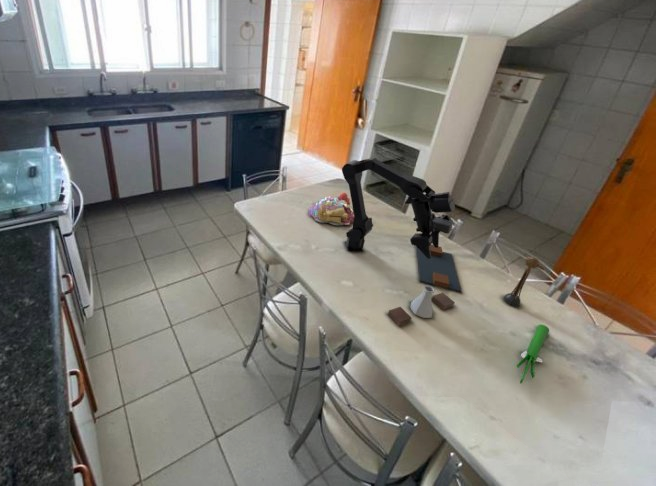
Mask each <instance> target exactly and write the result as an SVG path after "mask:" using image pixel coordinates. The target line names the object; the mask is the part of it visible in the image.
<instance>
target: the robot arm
mask: <svg viewBox="0 0 656 486" xmlns="http://www.w3.org/2000/svg"><path fill="white" fill-rule="evenodd" d="M365 171H371V172H373V173H375V174H376V175H378V176H380V177H382V178H384V179H385V180H387V181H389V182H390V183H391V182H392V183H393V184H395V185H396V186H397V187H398V188H399V189H400V190H401V192H403V193H404V194H405V195H406V196H408V197H407V199H406V201H405V202H404V204H405V205H410V204H411V208H412V211H413V216H414V217H413V219H412V220H413V222H416V228H415V231H416V232H417V233H416V232H415V233H414V234H413V235H412V236H411V238H410V244H411V246H414V247H417V248H418V249H419V250H420V251H421V252H422V253H423V254H424V255H425V256H426V257H427V258H428V259H430V258H431V252H430V245H434V247H435V248H438V246H440V245H439V243H440V241H439V240H440V233H444V234H446V235H447V234H450V233H451V231H452V228H453V225H454V219H452V218H451V215H449V214H445V215H443V217H442V216H440V217H437V216H436V214H439V213H454V212H455V209H456V204H455V202H456V201H455V199H454V198H453V196H452V195H451V193H450V191H445V192H440V193H439V192H438V193H436V191H435V190H434V189H432V188H431V187H430V186H429V185H427V181H426V180H425V179H423V178H420V177H417V176H414V175H409V174H405V173H402V172H401V171H400V170H398V169H395V168H394V167H392V166H390V165H388V164H386V163H384V162H383V161H381V160H378V158H377V157H369V158H367V159H366V158H365V159H361V160H357V159H354V160H351V161H349V162H347V163H345V164H344V165H342V167H341V172H342V173H341V174H342V176H343V179H344V180H345V182H346V183H347V185H348V188H349V189H348V190H349V193H350V200H351V207H352V210H353V214H354V220H353V223H352V227H351V228H350V229H349V230H348V231H347V232H345V235H346V241H344V245H345V247H346V249H347V252H360V253H361V252H364V249H363V248H364V246H365V241H366V239H365V237H366V236H367V235H368V234H369V233H370V232H371V231H372V230H373V227H374V223H373V218H372V217H369V216H368V215H367V213H366V212H367V211H366V207H365V206H366V205H365V201H364V194H363V189H362V177H363V172H365ZM418 232H419V233H418ZM417 248H416V249H417Z"/></svg>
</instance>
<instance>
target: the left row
mask: <svg viewBox="0 0 656 486" xmlns="http://www.w3.org/2000/svg"><path fill="white" fill-rule="evenodd" d="M431 302H433V303H434V304H435V305H436V306H437V307H439V308H440V309H441V310H443V311H444V310H447V309H450V308H452V307H454V305H455V301H454V300H453V299H451V298H450V297H449V296H448V295H447V294H445V293H444V292H440V293H437V294H434V295H432V296H431ZM387 316H388V317H389V318H390V319H391V320H392V321H393V322H394V323H395V324H396V325H397V326H398V327H400V326H403V325H406V324H409V323H411V321H412V318H413V317H412V316H411V315H410V314H409V313H408V312H407V311H406V310H405V309H404V308H403V307H402V306H398V307H395V308H392V309H389V310H388V313H387Z"/></svg>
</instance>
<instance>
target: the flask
mask: <svg viewBox="0 0 656 486" xmlns="http://www.w3.org/2000/svg"><path fill="white" fill-rule="evenodd" d="M434 293H435V288H434V286H432V285H430V284H426V285H424V286H423V291H422V292H421V293H420V295H418V296H417V297H416V298H415V299H414V300H413V301H411V302H410V309H411V311H412V313H413V314H414V315H415V316H418V317H420V318H423V319H430V318H433V304H432V302H433V301H432V300H431V299H432V297H433V294H434Z"/></svg>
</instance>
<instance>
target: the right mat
mask: <svg viewBox="0 0 656 486" xmlns="http://www.w3.org/2000/svg"><path fill="white" fill-rule="evenodd" d="M415 247H416V246H415ZM430 252H431V258H430V259H428V258H427V257H426V256H425V255H424V254H423V253H422V252H421V251H420V250H419V249H418V248H417V247H416V257H417V267H418V276H419V277H418V278H419V282H420V283H423V284H426V285H429V286H433V287H434V286H435V287H439V288H442V289H446V290H449V291H454V292H457V293H461V292H462V288H461V285H460V281H459V277H458V274H457V269H456V266H455V265H456V264H455V261H454V258H453V254H452V253H450V252H446V251H445V252H444V251H443V248H442V246H440V245H438V248H435V247H434V245H433V244H431V245H430Z"/></svg>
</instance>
